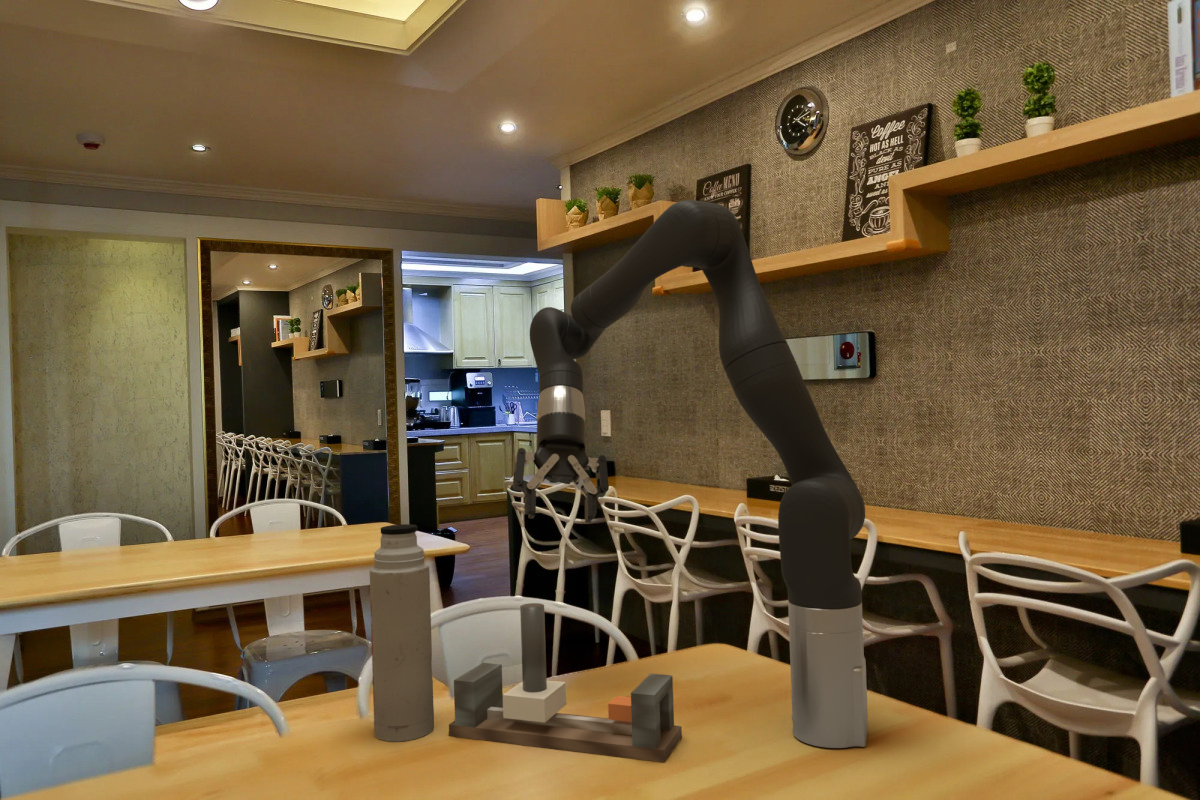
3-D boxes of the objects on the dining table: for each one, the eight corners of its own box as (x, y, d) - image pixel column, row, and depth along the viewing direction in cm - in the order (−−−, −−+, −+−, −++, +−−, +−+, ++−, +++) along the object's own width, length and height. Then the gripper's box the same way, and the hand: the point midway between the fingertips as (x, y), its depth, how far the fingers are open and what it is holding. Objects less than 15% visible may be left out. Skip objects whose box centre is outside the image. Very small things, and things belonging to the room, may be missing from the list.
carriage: (566, 704, 115) (563, 601, 115) (545, 722, 109) (541, 613, 109) (526, 700, 117) (523, 599, 117) (503, 717, 111) (500, 610, 111)
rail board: (681, 737, 110) (679, 675, 110) (664, 762, 102) (662, 696, 102) (478, 715, 121) (476, 658, 121) (448, 735, 113) (447, 675, 113)
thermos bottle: (363, 740, 113) (357, 529, 113) (390, 718, 120) (384, 521, 121) (419, 743, 111) (413, 529, 111) (443, 721, 119) (437, 521, 119)
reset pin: (653, 715, 109) (652, 699, 109) (646, 723, 106) (645, 707, 106) (616, 711, 110) (616, 695, 110) (608, 719, 108) (608, 703, 108)
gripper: (519, 405, 127) (516, 505, 120) (611, 414, 131) (614, 513, 123) (512, 428, 134) (508, 524, 126) (599, 436, 137) (601, 531, 129)
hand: (560, 518), depth 124 cm, fingers open, 8 cm apart
